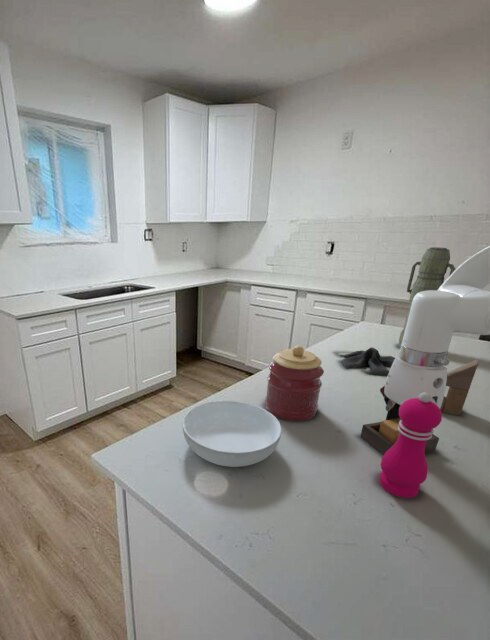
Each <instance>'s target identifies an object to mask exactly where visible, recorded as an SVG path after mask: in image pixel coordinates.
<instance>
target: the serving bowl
mask: <svg viewBox="0 0 490 640" xmlns="http://www.w3.org/2000/svg"><path fill="white" fill-rule="evenodd" d="M181 427H182V434H183V437H184V439H185V441H186V443H187V445H188V447H189V448H190V449H191V450H192V451H193V452H194V453H195V454H196V455H197V456H199V458H202V459H203V460H205V461H207V462H210V463H211V464H214V465H218V466H222V467H230V468H238V467H239V468H241V467H247V466H252V465H255V464H258V463H260V462H262V461H264V460H265V459H266V458H268V457H269V456H271V454H273V452H274V451H275V450H276V448H277V446H278V444H279V443H280V440H281V437H282V433H283V431H282V430H283V429H282V425H281V423H280V421H279V420H278V417H276V416H274V415H272V414H271V413H270V412H269V411H268V410H267V409H265V408H263V407H260V406H258V405H256V404H252V403H249V402H244V401H239V400H213V401H207V402H203V403H201V404H200V403H199V404H198V405H195V406H194V407H192V408H190V409H189V410H188V411H187V412H186V413H185V414H184V416H183V417H182V421H181Z"/></svg>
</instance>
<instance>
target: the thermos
mask: <svg viewBox="0 0 490 640" xmlns="http://www.w3.org/2000/svg"><path fill="white" fill-rule="evenodd" d="M450 260H451V251H450V249H448V248H447V247H435V246H434V247H429V248H427V249H426V250H425V252H424V253H423V255H422V256H421V261H416V262H415V263H414V264H413V265H412V267H411V270H410V276H409V279H408V282H407V283H408V284H407V289H406V292H407V293H409V298H408V299H409V306H408V310H407V313H406V318H405V322H404V325H403V329H402V330H401V332H400V334H399V338H398V344H397V347H398V348H399V349H400V348H401V344H402V340H403V336H404V332H405V328H406V324H407V320H408V317H409V313H410V309H411V305H412V301H413V298H414V296H415V295H416V294H417V293H419V292H421V291H428V290H436V291H437V290H438V289H439V288H440V286H441V285H442V284H443V283H444V282H445V275H446V274H447V271H448V268H449V269H450V271H449V275H448V277H449V276H450V275H451V274H452V273H453V272H454V271H455V270H456V269H457V268H456V267H455V265H454V264H452V263H450V262H451V261H450ZM417 266H419V268H418V275H417V276H416V279H415V281H414V283H413V284H412V282H413V279H414V275H415V271H416V267H417Z"/></svg>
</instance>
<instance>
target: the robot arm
mask: <svg viewBox="0 0 490 640" xmlns="http://www.w3.org/2000/svg"><path fill="white" fill-rule="evenodd" d="M455 269H456V270H455V271H454V272H453V273H452V274H451V275H450V276H449V275H448V277H447V278H446V279H445V280H444V283H443V284H442V285H441V286H440V288H439V289H438V290H437V291H436V290H428V291H421V292H419V293H417V294H416V295H415V296H414V298H413V301H412V305H411V309H410V313H409V317H408V320H407V324H406V328H405V332H404V336H403V340H402V344H401V348H399V351H398V354H397V355H396V356H395V360H394V362H393V364H392V366H391V367H389V374H388V375H387V376H386V379H385V384H384V385H383V386H382V387H381V388H380V389H379V392H380V394H381V396H382V397H383V401H384V403H385V411H386V417H385V420H390V419H396V418H400V417H399V409H400V407H401V405H402V404H403V403H404V402H405V401H406V400H408V399H412V398H419V394H420V393H422V392H427V393H429V394H430V395H431V397H432V398H431V400H430V401H432V402H433V403H435V404H436V405H437V406H438V407H439V408H441V405H442V402H443V398H444V396H445V393H446V388H447V386H446V381H447V372H448V367H447V366H449V364H450V362H451V360H450V359H449V358H447V355H448V352H449V349H450V345H451V342H452V339H453V336H454V334H455V333H462V334H468V335H469V334H470V335H479V336H490V291H489V290H486V289H484V288H486V287H487V286H488V285H490V245H488V246H486V247H485V248H483V249H481V250H479V251H478V252H476V253H475V254H473V255H471V256H470V257H469V258H467V259H466V260H464V261H463V262H462V263H461V264H460V265H459V266H457V268H455Z"/></svg>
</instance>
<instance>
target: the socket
mask: <svg viewBox="0 0 490 640" xmlns="http://www.w3.org/2000/svg"><path fill="white" fill-rule="evenodd" d="M380 425H381V421H377V422H372V423H371V422H370V423H364V424H362V428H361V433H360V438H361V440H362V441H365V442H366V444H368V445H369V446H371V447H372V448H373V449H375V450H376V451H377V452H378V453H379V454H381V455H382V456H384V454H385V453H386V452H387V451H388V450H389V449H390V448H391V447H392V446H393V445H394V444H395V443H392V442H391V441H389V440H388V439H387V438H385V437H384V436H383V435H381V434H380V433H379V429H380ZM439 441H440V437H439V436H437V435H435V434H434V433H433V434H432V438H431V439H429V440H427V442H426V445H425V454H426V453H427V454H429V453H433V452H435V451H436V450H437V447H438V444H439Z"/></svg>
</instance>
